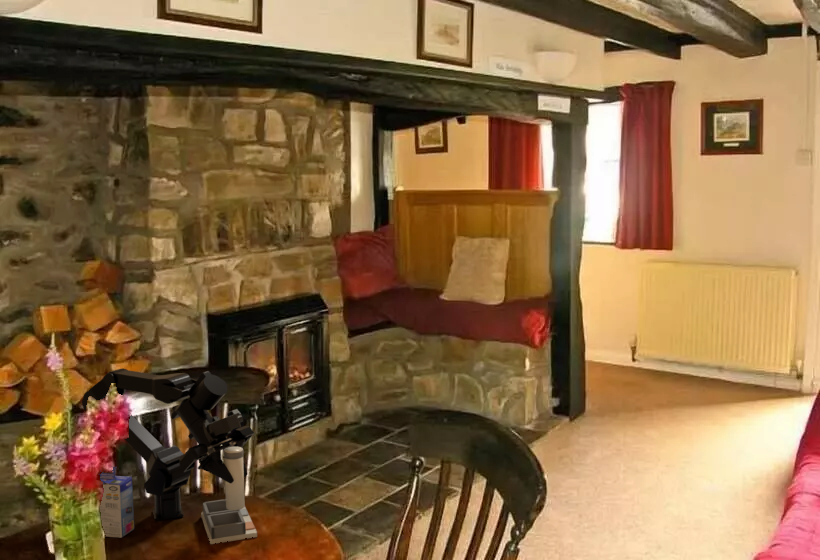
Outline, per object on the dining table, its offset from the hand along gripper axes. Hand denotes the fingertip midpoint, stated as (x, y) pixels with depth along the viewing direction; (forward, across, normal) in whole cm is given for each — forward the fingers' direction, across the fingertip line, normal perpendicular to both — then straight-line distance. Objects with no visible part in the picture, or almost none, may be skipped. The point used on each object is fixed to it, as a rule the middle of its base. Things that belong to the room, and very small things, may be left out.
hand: (239, 479), depth 186 cm
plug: (+4, 0, +6) cm, 7 cm away
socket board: (+5, +2, +12) cm, 14 cm away
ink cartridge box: (-9, -13, +28) cm, 32 cm away
